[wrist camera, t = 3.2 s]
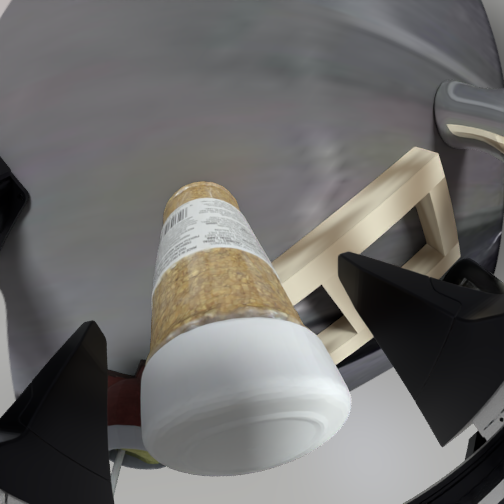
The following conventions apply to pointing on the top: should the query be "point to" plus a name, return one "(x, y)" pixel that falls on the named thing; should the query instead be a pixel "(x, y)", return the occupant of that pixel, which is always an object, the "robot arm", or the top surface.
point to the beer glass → (471, 117)
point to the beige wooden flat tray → (365, 233)
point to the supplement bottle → (474, 277)
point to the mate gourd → (126, 424)
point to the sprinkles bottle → (229, 350)
